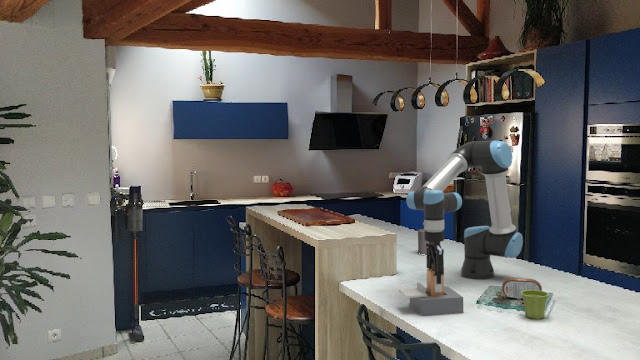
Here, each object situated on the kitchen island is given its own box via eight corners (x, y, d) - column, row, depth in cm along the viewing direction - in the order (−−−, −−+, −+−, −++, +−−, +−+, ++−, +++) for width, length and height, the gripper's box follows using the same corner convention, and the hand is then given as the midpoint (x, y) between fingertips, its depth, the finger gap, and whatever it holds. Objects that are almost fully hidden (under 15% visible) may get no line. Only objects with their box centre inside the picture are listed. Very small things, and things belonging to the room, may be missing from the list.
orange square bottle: (439, 300, 221) (438, 261, 220) (444, 304, 216) (443, 264, 215) (427, 301, 220) (426, 262, 219) (431, 305, 215) (430, 265, 214)
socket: (448, 300, 227) (447, 286, 227) (463, 312, 211) (463, 297, 211) (409, 303, 225) (409, 289, 225) (422, 316, 209) (422, 300, 209)
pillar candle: (416, 252, 322) (415, 226, 321) (432, 251, 323) (432, 225, 322) (421, 256, 313) (420, 229, 311) (438, 255, 314) (437, 228, 312)
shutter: (418, 289, 222) (418, 281, 222) (426, 296, 212) (426, 288, 212) (398, 291, 221) (398, 282, 221) (406, 298, 211) (405, 289, 211)
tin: (541, 299, 225) (541, 278, 224) (542, 301, 222) (542, 280, 221) (502, 297, 230) (502, 276, 229) (502, 299, 227) (501, 278, 226)
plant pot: (517, 312, 209) (517, 289, 209) (543, 312, 209) (543, 289, 208) (525, 321, 200) (525, 297, 199) (552, 320, 200) (552, 296, 199)
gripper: (417, 227, 225) (418, 284, 226) (432, 235, 206) (434, 297, 208) (435, 226, 226) (436, 283, 227) (452, 233, 207) (453, 295, 209)
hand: (435, 289), depth 218 cm, fingers open, 6 cm apart
